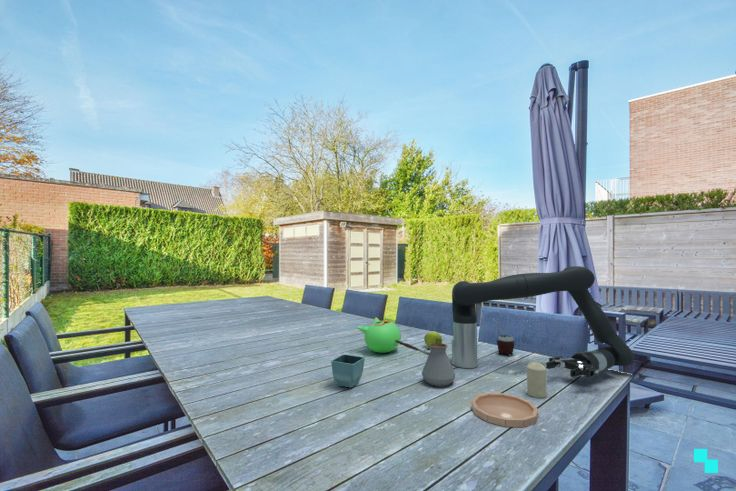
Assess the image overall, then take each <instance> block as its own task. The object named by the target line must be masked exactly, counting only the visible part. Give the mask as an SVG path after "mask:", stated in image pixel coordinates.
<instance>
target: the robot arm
mask: <svg viewBox="0 0 736 491" xmlns="http://www.w3.org/2000/svg"><path fill="white" fill-rule="evenodd" d="M595 280H596V277H595V275H594V273H593V272H592V270H590V269H589V268H588V267H585V266H579V265H578V266H577V265H576V266H575V265H574V266H568V267H564V269H562V270H560V271H555V272H531V273H530V272H529V273H527V272H525V273H519V274H511V275H507V276H503V277H499V278H497V279H493V280H491V281H486V282H485V281H483V282H469V281H465V280H460V281H458V282H456V283H455V284H454V285H453V287H452V290H451V301H452V302H451V304H452V305H451V307H452V326H453V327H452V329H453V330H452V334H453V336H452V337H453V338H452V340H451V366H452V365H453V366H456V367H457V368H463V369H473V368H475V369H476V368H477V367H478V365H479V364H478V360H479V359H478V318H477V317H478V316H477V311H476V310H477V308H476V304H481V303H485V302H490V301H503V300H504V301H505V300H515V299H516V300H517V299H524V298H525V299H526V298H531V297H536V296H543V295H546V294H552V293H557V292H568V294H570V296H571V298H572V299H573V300H574V302H575V303H576V305H577V306H578V308H579V310H580V311H581V313H582V315H583V317H584V319H585V320H586V323H587V324H588V326H589V328H590V331H591V333H592V334H593V337H594V338H595V340H596V341H597V342H598V343H601V344H606V345H608V346H602V347H601V346H600V347H599V348H597V349H594V350H584V351H581V352H576V353H574V354H573V355H571V357H570V358H563V356H562V355H558V356H553V357H549V358H548V361H546V363H545V368H546V370H547V369H548V370H551V369H557V368H558V369H561V370H568V371H570V377H571V378H577V377H584V376H585V377H586V378H588V379H590V378H593V377H596V376H597V377H598V376H599V373H600V372H602V371H605V370H608V369H611V368H613V367H615V366H616V367H619V366H620V367H621V366H622V367H623V366H624V367H625V366H631V365H633V363H634V361H635V355H634V353H633V351H632V349H631V348H630V347H629V346H628V345H627V343H626V342H625V341H624V340H623V338H621V337H620V336H619V335H618V333H617V332H616V330H615V329H614V327H613V325H612V323H611V321H610V319H609V317H608V316H607V314H606V313H605V311H604V310H603V309H602V308H601V307H600V306H599V305H598V303H597V302H596V301H595V299H594V298H593V296H592V295H591V293H590V291H589V289H590V288H591V287H593V285H594V283H595Z"/></svg>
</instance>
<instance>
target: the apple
mask: <svg viewBox="0 0 736 491" xmlns="http://www.w3.org/2000/svg"><path fill="white" fill-rule="evenodd" d="M423 339H424V340H423V341H424V342H425V343H424V344H426V346H427V347H429V344H431V343H443V338H442V336H441V334H440V333H439V332H438V331H435V330H433V331H429V332H426V333H425V335H424V338H423ZM429 348H430V347H429Z"/></svg>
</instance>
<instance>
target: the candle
mask: <svg viewBox="0 0 736 491" xmlns="http://www.w3.org/2000/svg"><path fill="white" fill-rule="evenodd" d="M526 392H527V395H529V396H530V397H533V398H536V399H537V398H538V399H542V398H546V397H547V368H546V366H544V365H543V364H541V363H540V362H539V361H531V362H529V363H528V364H527V365H526Z"/></svg>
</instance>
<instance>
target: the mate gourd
mask: <svg viewBox="0 0 736 491" xmlns="http://www.w3.org/2000/svg"><path fill="white" fill-rule="evenodd" d="M492 320H493V322H494V323H496V325H497V326H498V329H499V332H500V335H499V336H498V337H497V341H496V343H497V344H496V345H497V350H498V355H499V356H506V357H508V358H510V356H513V355H514V353H513V352H514V348H515V340H514V337H513V336H512V335H509V334H503V331H502V329H501V325H500V324H499V322H498V321H496V319H494V318H492Z"/></svg>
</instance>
